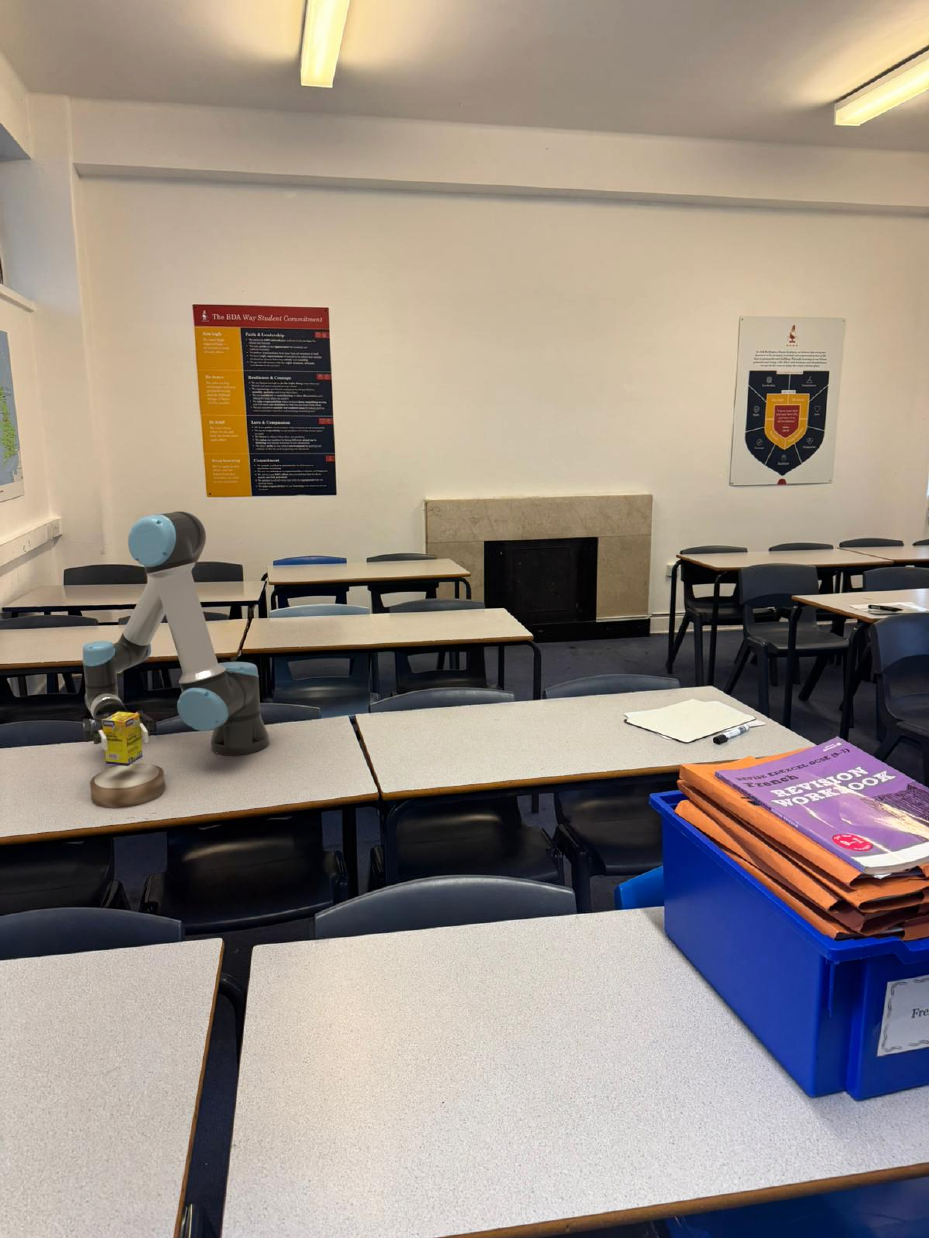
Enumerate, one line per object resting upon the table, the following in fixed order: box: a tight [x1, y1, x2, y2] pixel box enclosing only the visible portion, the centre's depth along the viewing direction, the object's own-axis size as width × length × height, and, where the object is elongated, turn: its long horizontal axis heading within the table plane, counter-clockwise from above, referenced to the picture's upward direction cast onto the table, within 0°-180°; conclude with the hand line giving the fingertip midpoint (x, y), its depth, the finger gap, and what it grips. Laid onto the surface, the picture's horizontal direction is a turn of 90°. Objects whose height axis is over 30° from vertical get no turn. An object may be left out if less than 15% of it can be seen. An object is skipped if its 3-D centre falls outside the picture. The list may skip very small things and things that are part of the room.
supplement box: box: [102, 712, 143, 766], centre depth 188 cm, size 6×6×11 cm
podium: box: [89, 763, 166, 809], centre depth 190 cm, size 16×16×4 cm
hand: (126, 740), depth 184 cm, fingers closed on supplement box, 8 cm apart
